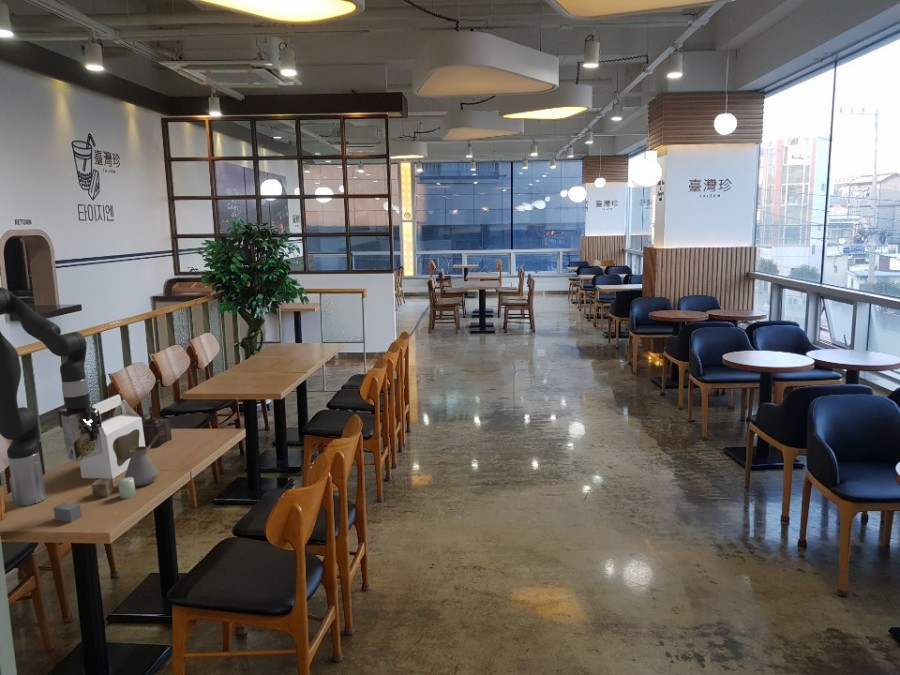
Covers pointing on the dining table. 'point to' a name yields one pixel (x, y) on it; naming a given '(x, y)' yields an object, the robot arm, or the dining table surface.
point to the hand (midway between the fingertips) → (82, 440)
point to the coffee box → (79, 436)
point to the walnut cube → (102, 488)
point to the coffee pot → (142, 465)
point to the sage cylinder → (126, 487)
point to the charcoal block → (67, 512)
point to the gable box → (114, 440)
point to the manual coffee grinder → (155, 430)
